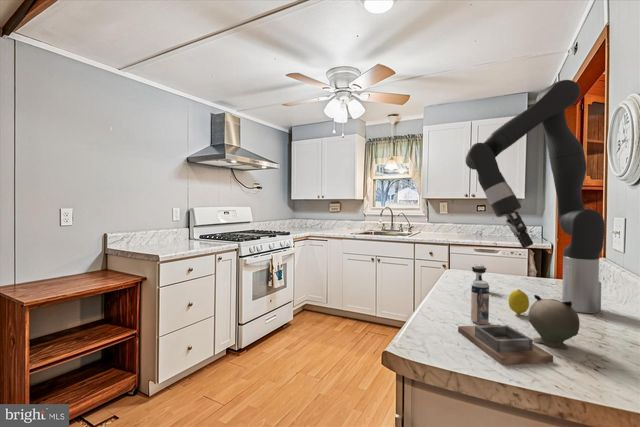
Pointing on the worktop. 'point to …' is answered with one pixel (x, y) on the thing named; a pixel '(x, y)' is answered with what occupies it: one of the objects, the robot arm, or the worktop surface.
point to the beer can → (480, 302)
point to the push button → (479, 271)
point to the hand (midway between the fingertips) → (528, 246)
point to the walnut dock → (505, 344)
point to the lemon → (518, 301)
